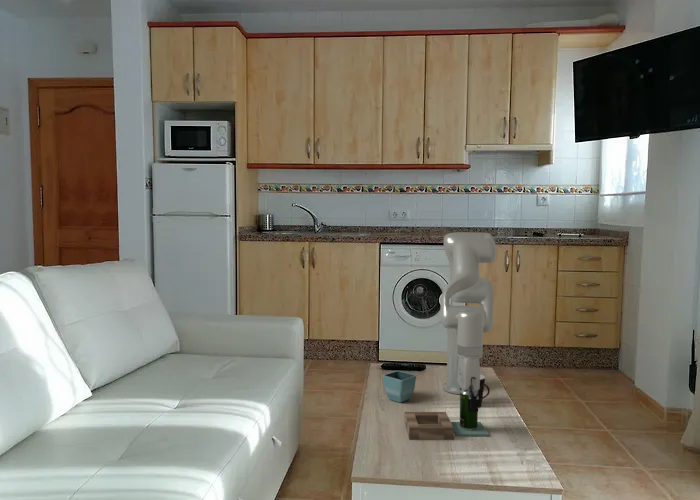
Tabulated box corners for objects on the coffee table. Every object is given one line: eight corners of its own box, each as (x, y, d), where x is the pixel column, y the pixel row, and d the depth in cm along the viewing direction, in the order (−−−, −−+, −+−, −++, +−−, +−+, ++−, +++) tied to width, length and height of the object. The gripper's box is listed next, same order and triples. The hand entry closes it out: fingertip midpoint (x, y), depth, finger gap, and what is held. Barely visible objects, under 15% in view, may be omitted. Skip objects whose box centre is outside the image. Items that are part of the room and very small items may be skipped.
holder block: (404, 422, 168) (404, 411, 168) (445, 422, 168) (445, 411, 168) (409, 439, 155) (409, 427, 155) (453, 439, 155) (453, 428, 155)
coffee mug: (456, 400, 189) (456, 372, 188) (480, 400, 190) (480, 372, 189) (466, 412, 177) (466, 382, 177) (491, 411, 178) (491, 382, 177)
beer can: (468, 432, 159) (469, 393, 158) (455, 426, 163) (456, 388, 163) (481, 428, 162) (482, 390, 161) (468, 423, 166) (469, 385, 165)
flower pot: (416, 399, 189) (417, 375, 189) (401, 406, 183) (401, 380, 183) (397, 394, 195) (397, 370, 195) (382, 400, 189) (382, 375, 189)
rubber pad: (448, 423, 167) (449, 421, 167) (480, 423, 167) (480, 421, 167) (455, 436, 157) (455, 434, 157) (489, 436, 157) (489, 434, 157)
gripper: (451, 344, 170) (451, 396, 171) (463, 358, 152) (462, 416, 153) (475, 344, 170) (474, 396, 171) (489, 358, 152) (488, 416, 153)
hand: (468, 406), depth 162 cm, fingers open, 9 cm apart
